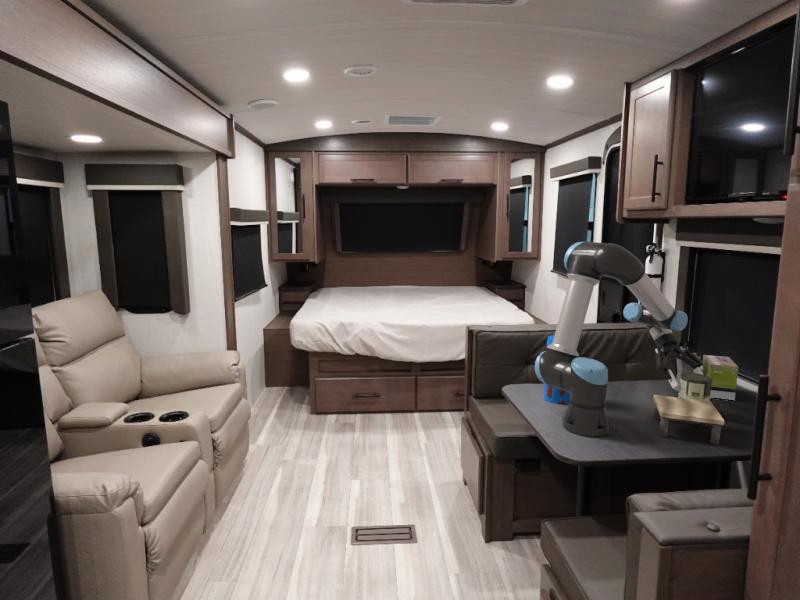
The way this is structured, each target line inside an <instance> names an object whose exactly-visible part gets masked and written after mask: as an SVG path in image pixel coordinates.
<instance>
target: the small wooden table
mask: <svg viewBox="0 0 800 600" xmlns="http://www.w3.org/2000/svg"><path fill="white" fill-rule="evenodd" d="M652 397H653V398H652V400H653V401H654V402H653V413H652V420H654V421H659V430H658V431H659V433H658V436H659V437H662V438H667V437H668V434H669V433H668V431H669V422H670V419H672V420H673V419H675V420H683V421H689V422H698V423H699V425H700V426H702V427H708V426H709V424H712V426H711V434H710V440H709V442H710V444H712V445H715V446H716V445H719V444H720V440H721V439H720V437H721V431H722V426H724V425H725V420H724V418H723V417H722V415H721V414H720V412H719V411H718V410H717V408H716V407H715V405H714V404H713V403H712V401H704V400H695V399H687V398H678V397H675V396H670V395H662V394H661V395H660V394H659V395H658V394H653V395H652Z"/></svg>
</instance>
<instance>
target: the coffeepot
mask: <svg viewBox="0 0 800 600" xmlns="http://www.w3.org/2000/svg"><path fill="white" fill-rule="evenodd" d="M688 350H689V351H690V352H691V353H693V354H694V355H695V356H696V357H697V358H698V359H699V360H700V361H701V358H702V357H701V356H700V354H699V352H692V349H691V348H688ZM680 355H682V354H680ZM698 364H699V363H698ZM694 366H695V365H694ZM676 370H677V374H676V376H675V379H676V380H677V382H678V384H679V386H680V374H682V373H694V371H693V370H694V369H693V368H692V367H691V366H689V365H688V364H686V363H685V362H683V361H682V360H680V359H677V358H676ZM679 386H677V387H676V388H672V389H673V390H674V391H675V390H676V391H675V392H677V391H678V393H679Z"/></svg>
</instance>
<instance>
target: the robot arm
mask: <svg viewBox="0 0 800 600" xmlns="http://www.w3.org/2000/svg"><path fill="white" fill-rule="evenodd" d="M563 264H564V268H565V270H567V273H566V276H567V278H568V280H569V281H568V286H567V289H566V293H565V297H564V300H563V303H562V308H561V311H560V315H559V317H558V322H557V325H556V328H555V333H554V334H553V335H554V339H553V343H552V344H550V345H549V346H547V345H546V348H545V350H544V351H542V352H540V353H539V355H538V356H536V359H535V362H534V371H535V375H536V377H537V379H538V380H539V381H540V382H541V383H543V384H544V383H546V384H547V385H549V386H553V387H556V388H558V389H561V390H563V391H566V392H568V393H570V397H569V403H568V404H567V407H566V409H565V412H564V415H563V416H562V421H561V422H562V423H561V425H562V427H563V428H564V429H565V430H566V431H568V432H570V433H573V434H575V435H577V436H578V435H579V436H584V437H603V436H605V435H608V433H610V432H609V431H610V423H609V419H608V416H607V411H606V403H607V390H608V382H609V369H608V367H607V366H606V365H605V364H604V363H603V362H601V361H599V360H596V359H593V358H588V357H584V356H583V357H580V354H579V352H578V350H577V349H578V345H579V341H580V337H581V336H582V335H581V334H582V330H583V328H584V323H585V320H586V315H587V314H588V313H587V312H588V309H589V307H590V302H591V299H592V295H593V291H594V289H595V286H597V285H598V284H600V283H601V279H602V277H605V278H606V277H607V278H612V279H615V280H617V281H618V283H619V284H620V285H622V286H626V288H627V289H628V290H629V291H630V292H631V293H632V294H633V295H634V296H635V298H636V299H637V300H638V301H639V303H637V302H630V303H627V304H626V305H625V307H624V308H623V312H622V313H623V317H624V319H625V320H627V321H629V322H631V323H637V324H641V325H645V326H646V329H647V330H648V331H649V333H650V335H651V337H652V339H653V341H654V343H655V345H656V346H657V348H655V349H654V350H653V352H654V353H655V363H656V364H655V365H656V371H657V372H659V373H660V374H662V375H664V377H665V379H666V380H668V382H669V384H670V386H671V388H672V389H673V388H676V387H677V386H679V384H678V382H677V380H676V376H675V375H674V373H673V372H672V370H671V369H669V367H670V363H671V360H673V359H674V360H677V359H680V360H682V361H683V362H685V363H686V364H688V365H689V366H691V367H692V368H693V369H694V370H693V371H694V373H697V374H702V375H704V373H703V371H702V365H703V361H701V359H700V360H699V359H698V358H697V357H696V356H695V355H694V354H693V353H694V352H692V351H691V352H690V351H689V350H688V349H689V348H688V347H687V345H685V344H684V345H682V346H680V345H679V344H678V339H677V338H676V335H675V334H674V332H673V331H676V332H681V331H684V329H685V328H686V326H687V325H688V314H687V313H686V312H685V311H681V310H679V309H678V310H677V309H675V308H674V307H673V305H672V304H671V302H669V300H668V299H667V298H666V296H664V295H663V293H662V291H661V290H660V289H659V288H658V287H657V285H656V284H655V283H654V282H653V280H652V279H651V278H650V277H649V276H648V274H647V273H646V267H645V265H644V264H643V263H642V262H641V261H640V259H639V258H638V257H636V256H635V255H634V254H633V253H632V252H630V250H628V249H627V248H625V247H624V246H622V245H620V244H616V243H610V242H608V243H606V242H595V241H578V242H575V243H573V244H572V245H571V246H569V247H568V249H567V250H566V252H565V255H564V258H563ZM680 354H682V355H680ZM698 363H699V364H698ZM694 365H695V366H694Z"/></svg>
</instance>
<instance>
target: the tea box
mask: <svg viewBox="0 0 800 600" xmlns="http://www.w3.org/2000/svg"><path fill="white" fill-rule="evenodd" d="M702 363H703V365H702V366H701V369H702V371H703V373H704V375H706V376H709V377H711V378H712V384H711V392H710V399H711V398H721V399H729V400H734V401H736V400H735V399H736V391H737V383H738V382H737V381H738V375H739V366H738V365H737V364H736V362H735V361H733V360H732V359H731V357H730V356H722V355H721V356H719V355H710V354H709V355H707V354H703V355H702Z"/></svg>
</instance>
